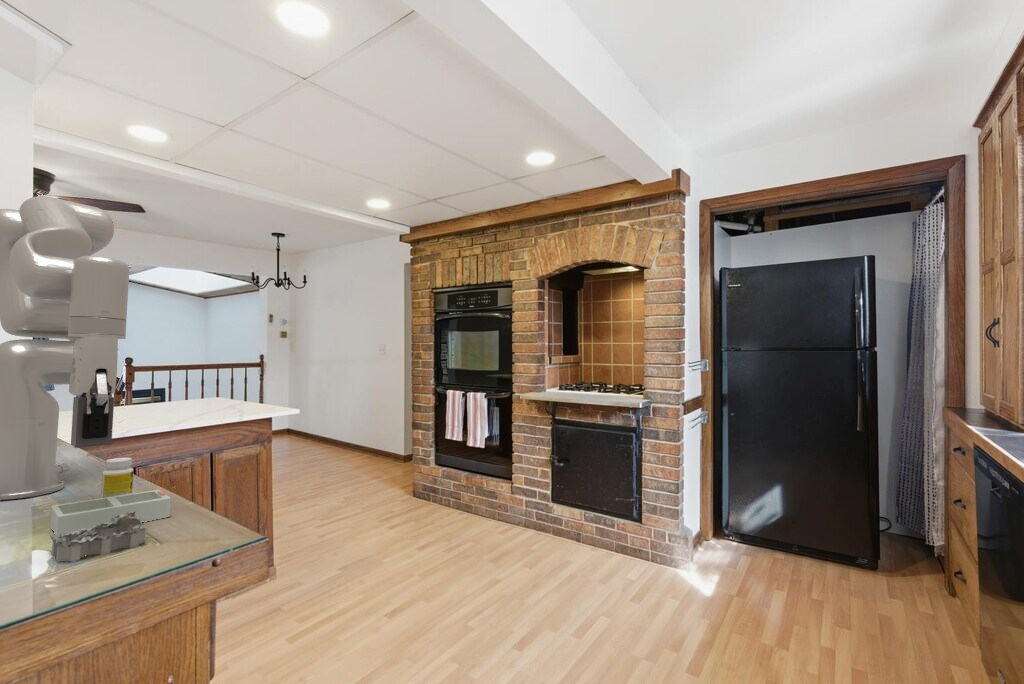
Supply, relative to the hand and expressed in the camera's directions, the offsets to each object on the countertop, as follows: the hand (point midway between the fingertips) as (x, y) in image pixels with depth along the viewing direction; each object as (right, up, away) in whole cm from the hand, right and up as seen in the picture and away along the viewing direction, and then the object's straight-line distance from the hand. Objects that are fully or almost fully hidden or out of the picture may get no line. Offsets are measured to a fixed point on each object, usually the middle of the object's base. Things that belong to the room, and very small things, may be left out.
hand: (91, 435), depth 81 cm
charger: (0, -2, 0) cm, 2 cm away
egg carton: (+9, -16, -9) cm, 20 cm away
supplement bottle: (-7, -16, +13) cm, 22 cm away
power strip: (+2, -16, +2) cm, 16 cm away
